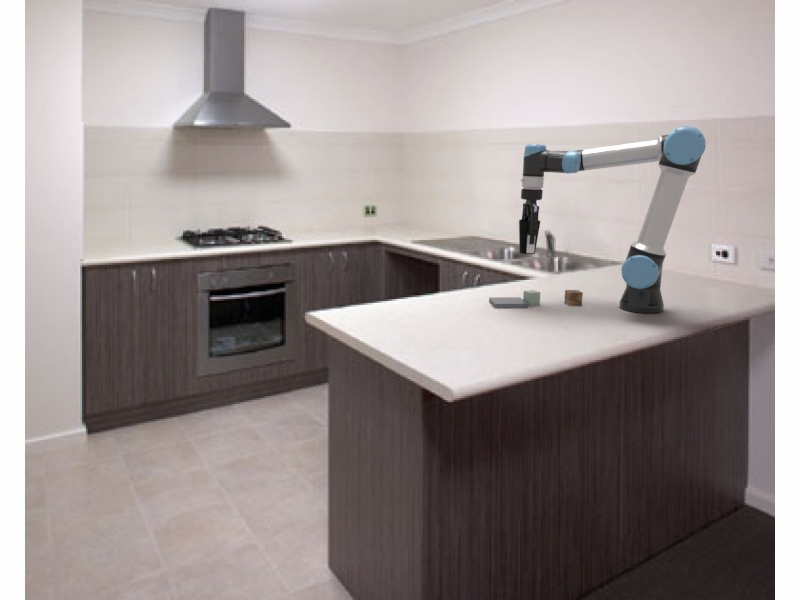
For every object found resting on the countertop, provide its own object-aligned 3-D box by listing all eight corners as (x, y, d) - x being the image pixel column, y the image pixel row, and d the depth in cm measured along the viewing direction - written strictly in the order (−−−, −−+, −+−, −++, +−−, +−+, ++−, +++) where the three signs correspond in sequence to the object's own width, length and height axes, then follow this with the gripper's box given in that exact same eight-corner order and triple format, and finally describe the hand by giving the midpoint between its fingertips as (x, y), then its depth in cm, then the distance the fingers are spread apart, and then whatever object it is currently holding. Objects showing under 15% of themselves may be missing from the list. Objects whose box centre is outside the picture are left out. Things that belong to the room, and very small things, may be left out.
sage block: (532, 303, 240) (533, 290, 239) (539, 305, 236) (540, 292, 235) (522, 303, 239) (523, 290, 238) (529, 306, 235) (530, 293, 234)
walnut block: (577, 302, 242) (578, 289, 240) (581, 305, 237) (582, 292, 236) (564, 302, 241) (565, 290, 240) (568, 305, 236) (569, 292, 235)
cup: (512, 252, 234) (514, 219, 231) (524, 250, 239) (527, 218, 236) (529, 255, 228) (532, 222, 226) (542, 253, 233) (544, 220, 231)
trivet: (519, 301, 243) (520, 297, 242) (527, 307, 232) (528, 303, 231) (489, 301, 242) (489, 297, 241) (495, 308, 231) (495, 303, 231)
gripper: (515, 186, 238) (511, 246, 243) (529, 189, 218) (524, 255, 223) (534, 187, 238) (530, 247, 244) (550, 190, 219) (545, 255, 224)
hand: (527, 251), depth 233 cm, fingers closed on cup, 8 cm apart
